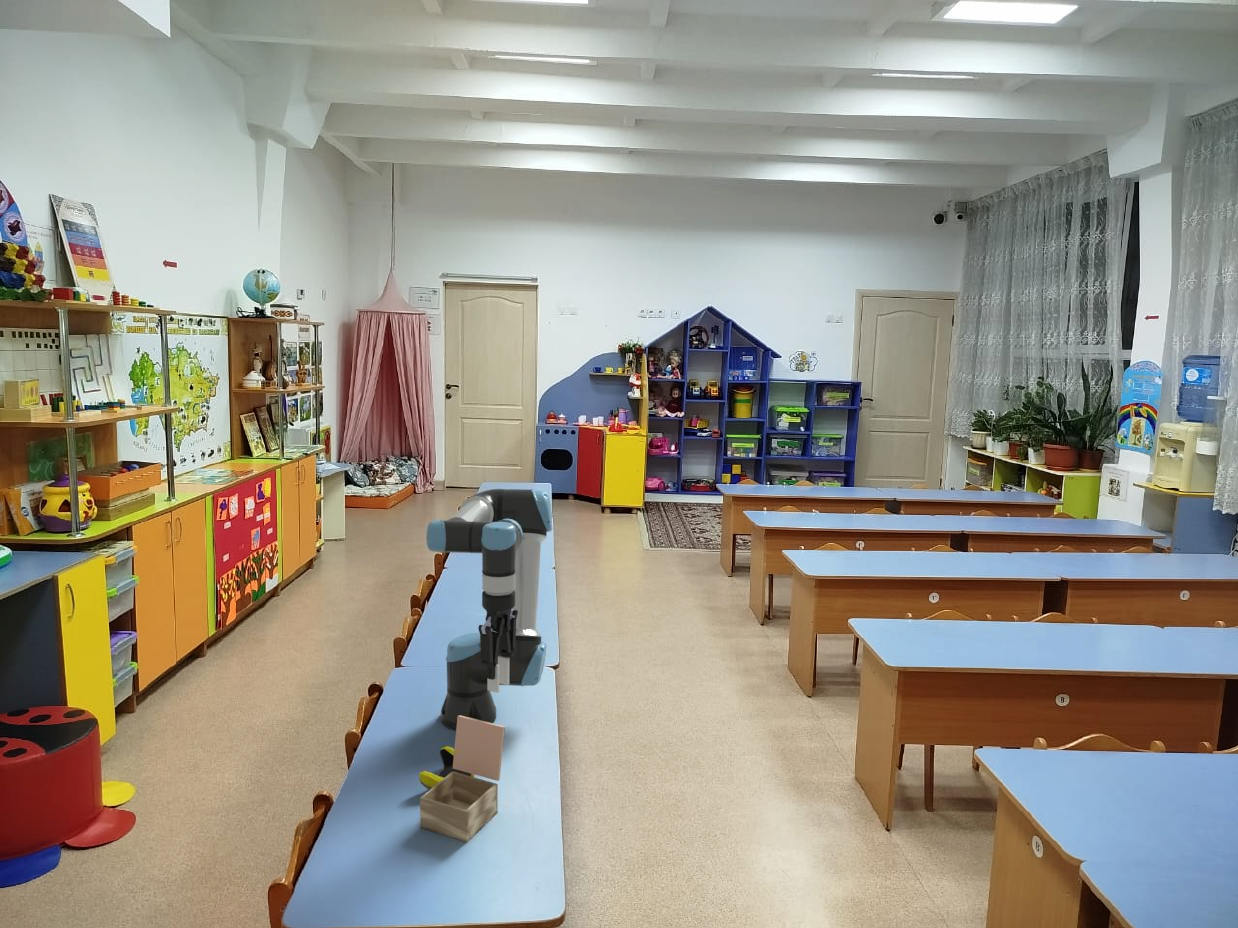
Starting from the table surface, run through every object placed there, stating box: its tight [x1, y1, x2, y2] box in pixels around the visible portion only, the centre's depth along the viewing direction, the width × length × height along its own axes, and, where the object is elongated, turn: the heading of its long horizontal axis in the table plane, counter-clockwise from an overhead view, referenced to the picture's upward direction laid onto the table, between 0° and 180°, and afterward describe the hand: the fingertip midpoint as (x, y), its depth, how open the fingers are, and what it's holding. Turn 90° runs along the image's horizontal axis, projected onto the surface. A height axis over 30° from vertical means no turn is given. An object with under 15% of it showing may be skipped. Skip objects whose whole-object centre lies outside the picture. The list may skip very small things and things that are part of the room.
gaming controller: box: [418, 745, 475, 791], centre depth 197 cm, size 15×6×10 cm
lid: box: [453, 715, 506, 782], centre depth 188 cm, size 12×12×1 cm
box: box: [419, 771, 499, 843], centre depth 182 cm, size 12×12×7 cm
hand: (498, 686), depth 193 cm, fingers open, 4 cm apart
